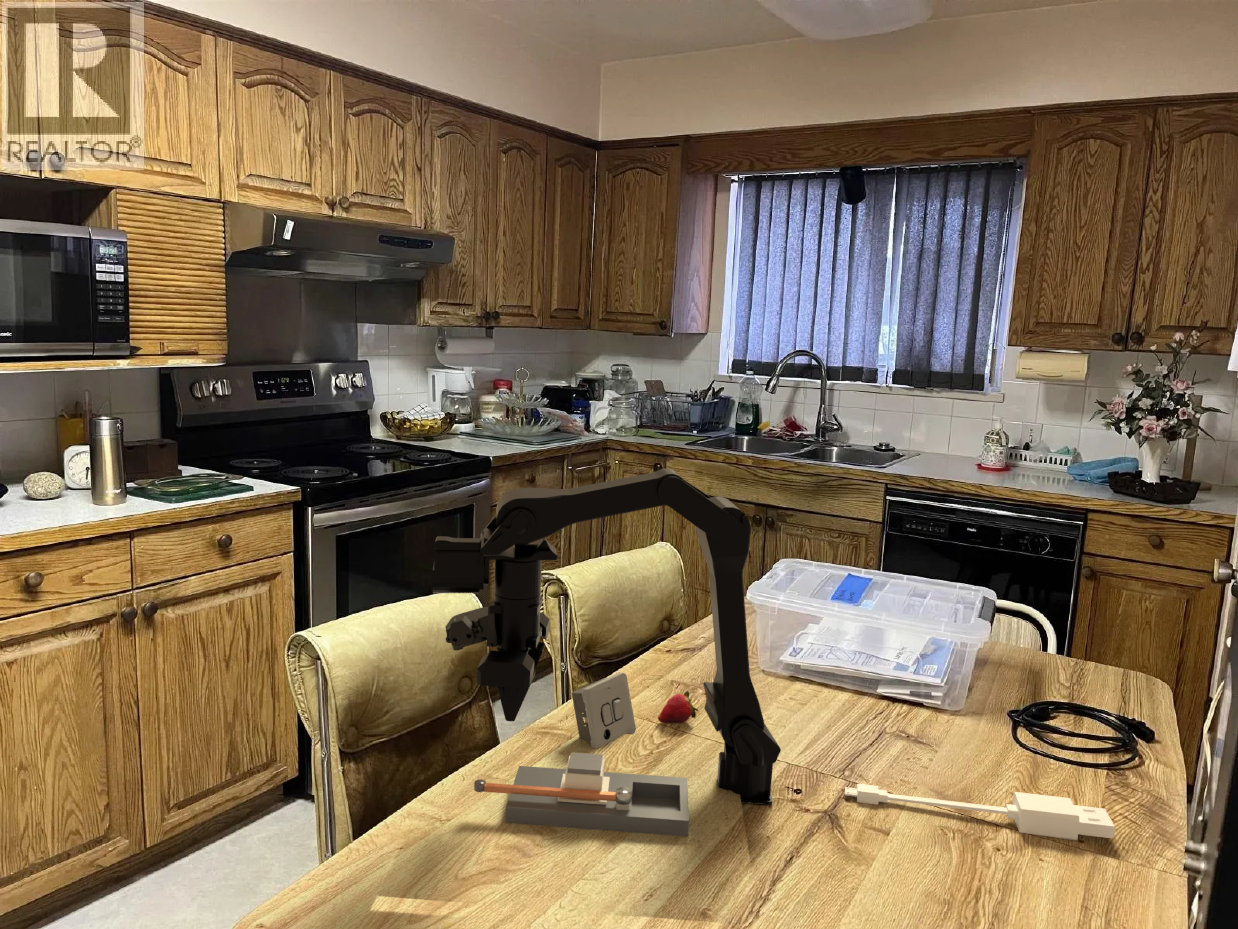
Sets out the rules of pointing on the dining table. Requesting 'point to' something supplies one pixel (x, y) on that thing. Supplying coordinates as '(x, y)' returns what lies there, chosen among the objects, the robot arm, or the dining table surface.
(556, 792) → the copper link
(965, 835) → the dining table surface
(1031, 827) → the charging cable
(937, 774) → the dining table surface
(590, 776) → the plug
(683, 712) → the fruit
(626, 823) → the grey socket base
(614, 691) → the electrical switch
